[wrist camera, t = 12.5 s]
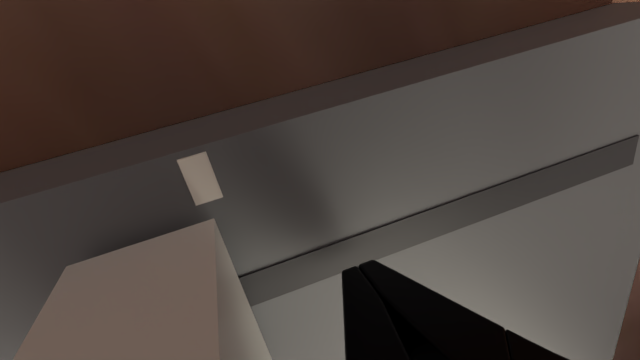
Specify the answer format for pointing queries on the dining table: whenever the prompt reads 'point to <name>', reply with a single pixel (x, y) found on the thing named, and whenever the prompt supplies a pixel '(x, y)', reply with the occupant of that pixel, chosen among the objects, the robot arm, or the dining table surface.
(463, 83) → the console board
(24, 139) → the dining table surface
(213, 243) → the white fader
